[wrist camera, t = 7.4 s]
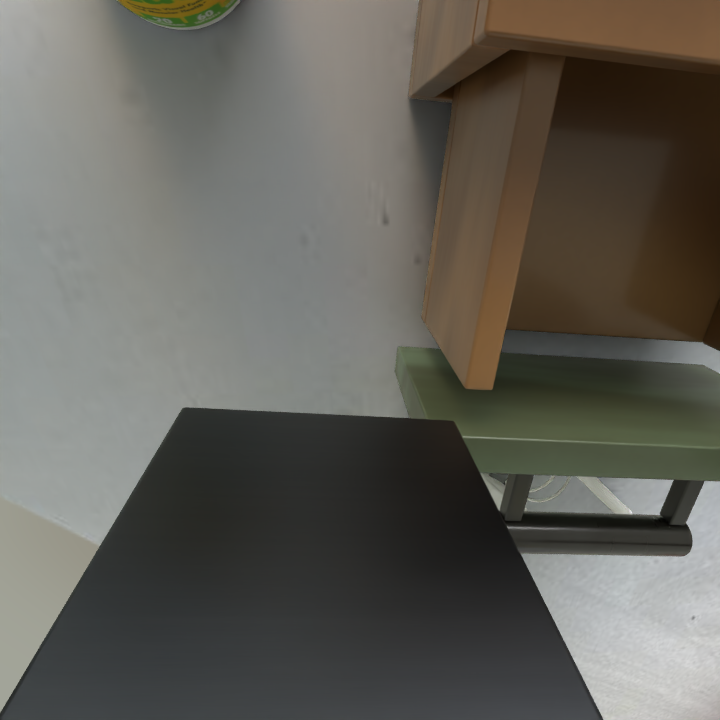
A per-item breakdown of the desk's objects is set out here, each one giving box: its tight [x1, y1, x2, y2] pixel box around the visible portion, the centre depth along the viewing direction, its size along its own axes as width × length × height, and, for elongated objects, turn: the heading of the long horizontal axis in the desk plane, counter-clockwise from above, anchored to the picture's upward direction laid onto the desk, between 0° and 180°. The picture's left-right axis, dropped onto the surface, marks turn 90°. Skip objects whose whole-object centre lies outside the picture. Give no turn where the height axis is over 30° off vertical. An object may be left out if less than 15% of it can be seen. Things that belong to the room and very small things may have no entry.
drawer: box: [395, 49, 720, 557], centre depth 15 cm, size 19×13×7 cm
